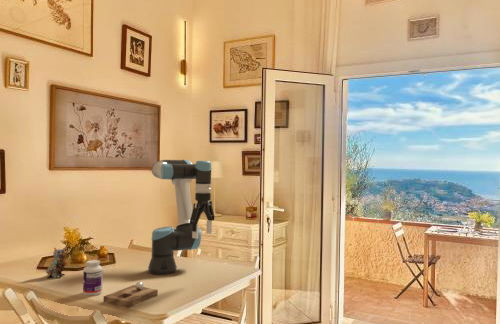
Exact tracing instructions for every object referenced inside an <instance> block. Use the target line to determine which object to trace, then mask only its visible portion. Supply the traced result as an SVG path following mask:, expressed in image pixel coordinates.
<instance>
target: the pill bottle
mask: <svg viewBox="0 0 500 324" xmlns="http://www.w3.org/2000/svg"><path fill="white" fill-rule="evenodd" d="M100 262H101V261H100V260H99V259H92V260H88V261H86V266H84V268H83V274H82V278H83V279H82V280H83V281H82V282H83V283H82V284H83V285H82V287H83V288H82V292H83V295H85V296H97V295H99V294H101V293H102V292H103V267H102V265H100V264H101V263H100Z"/></svg>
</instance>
